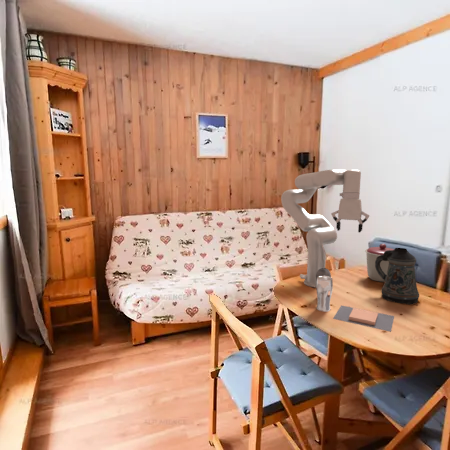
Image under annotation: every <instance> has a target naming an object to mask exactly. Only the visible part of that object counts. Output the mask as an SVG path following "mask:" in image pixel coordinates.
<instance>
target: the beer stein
mask: <svg viewBox="0 0 450 450" xmlns="http://www.w3.org/2000/svg"><path fill="white" fill-rule="evenodd" d="M393 249H394V250H387V251H385V252H384V254H383V255H380V256H378V257H377V258H376V261H375V268H376V270H377V272H378V274H379V275H380V276H381V278H382V279H383V280H385V282H383V286H382V287H381V290H380V291H381V292H380V293H381V297H382V298H383V300H385V301H387V302H391V303H397V304H403V305H409V306H410V305H411V306H413V305H415V304H417V303H418V301H419V298H420V292H419V290H418V285H417V279H416V269H415V265H416V263H417V258H416V257H415V256H414V255H413V254H412V253H410V252H409V251H408V248H405V247H395V248H393ZM381 261H389V266H388V270H387V275H386V274H385V273H384V272H383V271H382V269H381V267H380V263H381Z"/></svg>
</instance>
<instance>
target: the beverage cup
mask: <svg viewBox="0 0 450 450" xmlns="http://www.w3.org/2000/svg"><path fill="white" fill-rule="evenodd" d="M324 265H325V266H326V259H325V260H324V262H323V268H320V269H319V270H318V271H317V273H316V280H317V277H318V276H328V277H331V278H332V274H331V271H330V270H329V269H328V268H327V267H325V268H324Z"/></svg>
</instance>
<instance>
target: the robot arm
mask: <svg viewBox="0 0 450 450" xmlns="http://www.w3.org/2000/svg"><path fill="white" fill-rule="evenodd" d="M361 174H362V173H361V171H360V170H359V169H326V170H325V169H324V170H319V171H316V172H311V173H309V172H308V173H303V174H300V175H297V177H296V178H295V179H294V185H295V187H296V188H293V189H287V190H285V191H283V193H282V194H281V196H280V197H281V198H280V199H281V205H282V208H283V209H284V210H285V212H286V213H287V214H288V215H289V216H290V217H291V218H292V219H293V221H294V222H295V223H296V225H297V226H298V227H299V228H300V230H302V231H303V232H307V233H306V238H305V239H306V245H307V263H306V264H307V269H306V271H307V272H306V274H302V273H300V274H299V278H300V279H301V280H302V279H303V284H304V285H305V286H307V287H310V288H316V285H317V280H316V273H317V271H318V270H319V269H320V268H323V262H324V260H325V261H326V259H327V257H326V256H327V255H326V250H325V248H324V245H330V244H334V243H335V242H336V241H337V238H338V234H337V231H338V232H339V231H340V230H341V220H345V221H346V220H347V221H357V222H358V226H357V228H358V231H357V233H359V234H360V233H361V232H362V231H363V227H364V226H363V224H364V223H365V222H367V221H368V219H370V218H369V217H370V215H369V214H368V213H366V212H364V211H362V199H361V198H360V193H361V191H360V190H361V177H362V176H361ZM325 186H326V187H327V186H342V192H340V193H339V197H341V198H340V200H339V203H338V204H339V205H338V210H336V211H333V212H331V213H330V214H331V216H332V220H334V222H335V223H336V227H335V228H336V229H337V231H336V229H335V228H334V227H333V225H332V224H331V223H330V222H329V221H328V220H327V219H326V218H325V216H323V215H322V214H319V213H313V214H312V213H311V214H310V213H308V212H307V211H306V209H305V208H304V207H303V206H301V205H300V204H305V203H307V202H309V201H310V199H312V197H313V195H314V194H315V193H316V192H317V189H320V188H321V187H325ZM362 216H364V218H363V219H362ZM324 268H326V264H325V265H324Z"/></svg>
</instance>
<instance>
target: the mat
mask: <svg viewBox="0 0 450 450" xmlns="http://www.w3.org/2000/svg"><path fill="white" fill-rule="evenodd" d="M353 308H354V307H351V306H347V305H340V307H339V309H337V311H336V313H335V314H334V316H333V317H332V319H333V320H337V321H342V322H346V323H350V324H351V323H352V324H355V325H360V326H364V327H368V328H373V329H377V330H382V331H386V332H390V333H391V332H392V329H393V323H394V320H395V315H391V314H385V313H381V312H377V311H376V313H378V317H377V320H376V323H375V325H371V324H366V323H362V322H357V321H353V320H349V316H350V314H351V312H352V310H353ZM355 308H356V307H355ZM356 309H358V308H356ZM360 309H361V308H360ZM361 310H363V309H361ZM365 310H366V309H365ZM366 311H368V310H366ZM370 311H371V310H370ZM371 312H373V311H371Z"/></svg>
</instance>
